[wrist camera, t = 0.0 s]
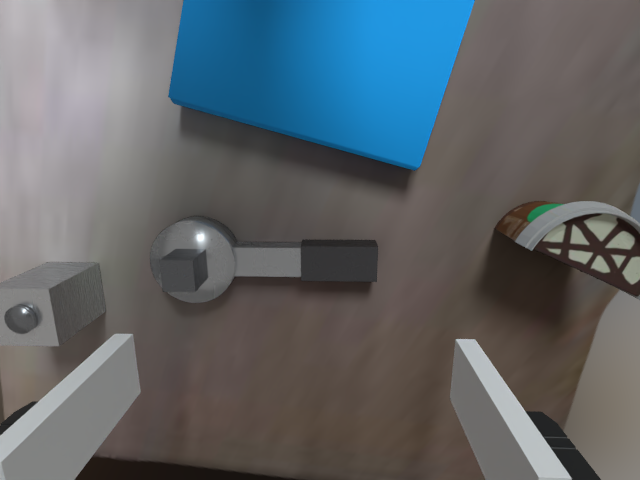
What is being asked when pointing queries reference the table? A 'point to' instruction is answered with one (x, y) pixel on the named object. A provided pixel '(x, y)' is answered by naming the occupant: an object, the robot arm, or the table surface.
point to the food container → (581, 238)
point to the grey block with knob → (50, 303)
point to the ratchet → (249, 259)
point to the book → (323, 68)
